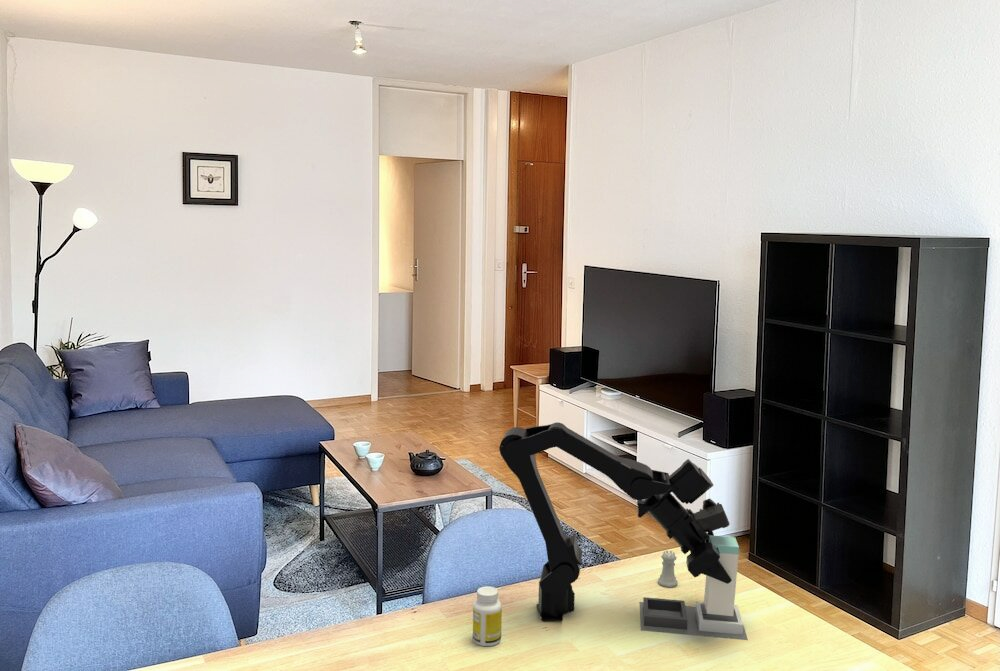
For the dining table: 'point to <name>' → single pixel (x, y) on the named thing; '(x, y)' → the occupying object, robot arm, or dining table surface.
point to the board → (688, 619)
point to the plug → (718, 592)
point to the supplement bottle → (487, 617)
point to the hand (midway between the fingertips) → (727, 576)
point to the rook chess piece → (668, 570)
